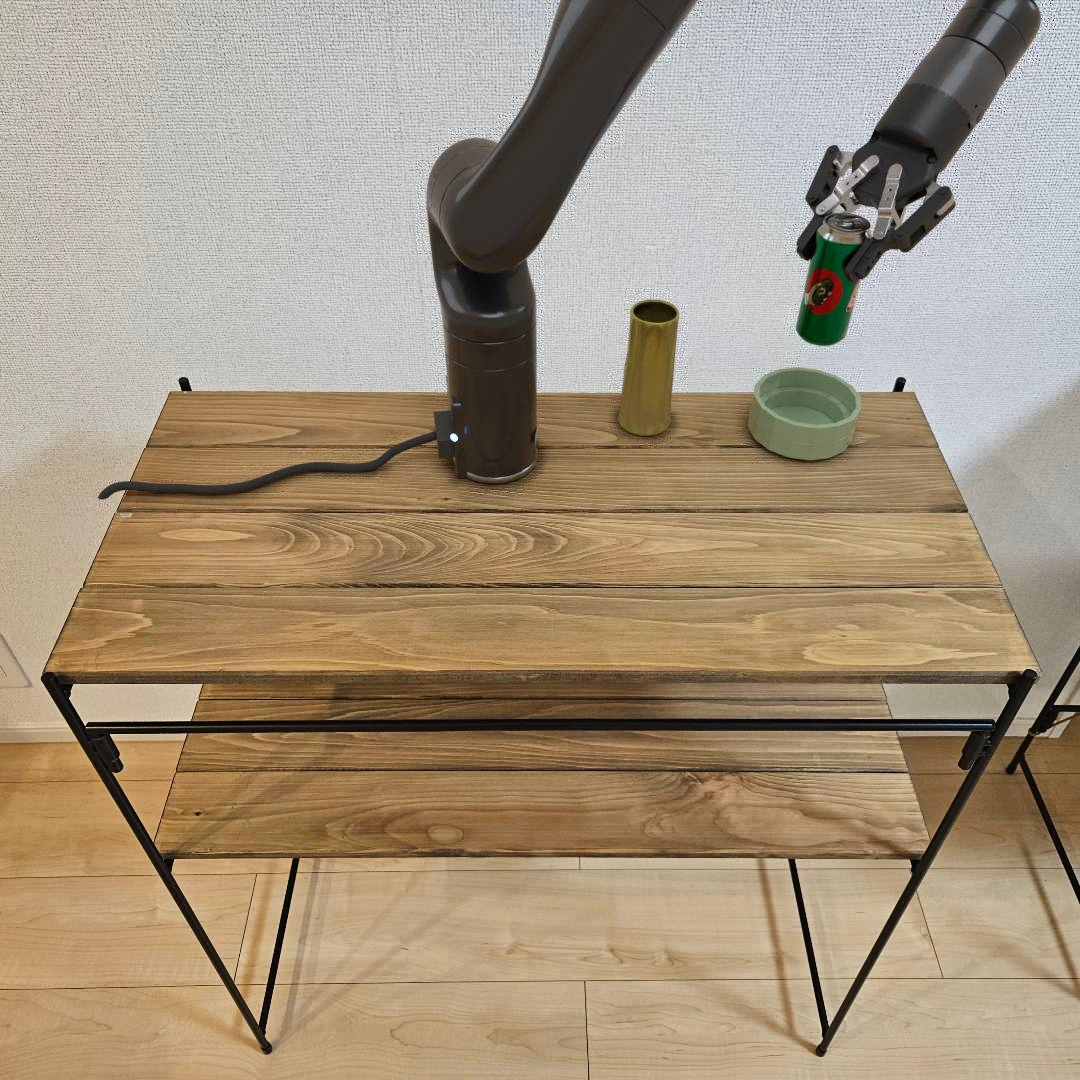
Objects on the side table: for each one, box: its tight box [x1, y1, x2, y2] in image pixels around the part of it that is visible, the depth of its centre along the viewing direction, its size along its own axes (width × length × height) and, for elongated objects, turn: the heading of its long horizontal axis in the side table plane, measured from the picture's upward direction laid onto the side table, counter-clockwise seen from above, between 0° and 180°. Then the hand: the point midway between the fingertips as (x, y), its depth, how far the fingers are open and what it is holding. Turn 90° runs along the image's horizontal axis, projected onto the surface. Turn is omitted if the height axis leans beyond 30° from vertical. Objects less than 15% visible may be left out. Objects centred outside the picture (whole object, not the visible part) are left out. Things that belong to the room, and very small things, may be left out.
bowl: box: [747, 366, 862, 461], centre depth 100 cm, size 12×12×5 cm
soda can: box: [795, 213, 873, 347], centre depth 87 cm, size 5×5×12 cm
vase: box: [617, 298, 680, 437], centre depth 99 cm, size 6×6×14 cm
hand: (825, 266), depth 85 cm, fingers closed on soda can, 5 cm apart
